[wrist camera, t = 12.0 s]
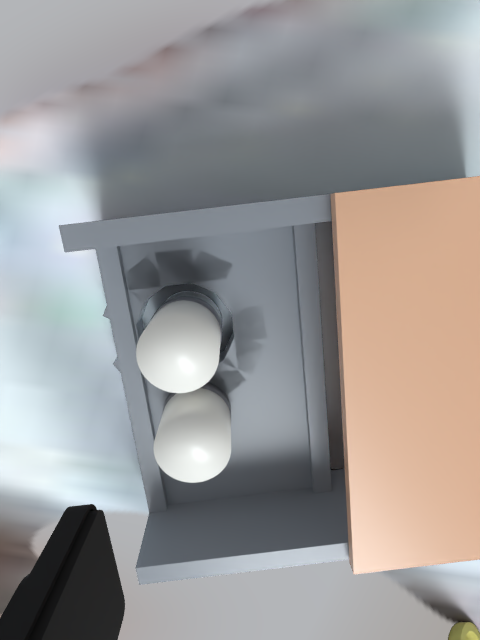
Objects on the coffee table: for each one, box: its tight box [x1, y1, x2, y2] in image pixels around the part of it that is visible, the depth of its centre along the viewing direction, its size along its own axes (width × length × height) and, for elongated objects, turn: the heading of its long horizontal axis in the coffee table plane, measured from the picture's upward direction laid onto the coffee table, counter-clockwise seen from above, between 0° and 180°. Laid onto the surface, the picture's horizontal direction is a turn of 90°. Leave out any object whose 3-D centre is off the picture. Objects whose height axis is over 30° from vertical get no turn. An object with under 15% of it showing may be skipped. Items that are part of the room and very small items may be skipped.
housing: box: [59, 194, 349, 585], centre depth 24 cm, size 23×20×7 cm
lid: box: [330, 176, 480, 574], centre depth 20 cm, size 10×20×3 cm, turn 6°
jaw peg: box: [136, 291, 222, 393], centre depth 24 cm, size 4×4×6 cm
